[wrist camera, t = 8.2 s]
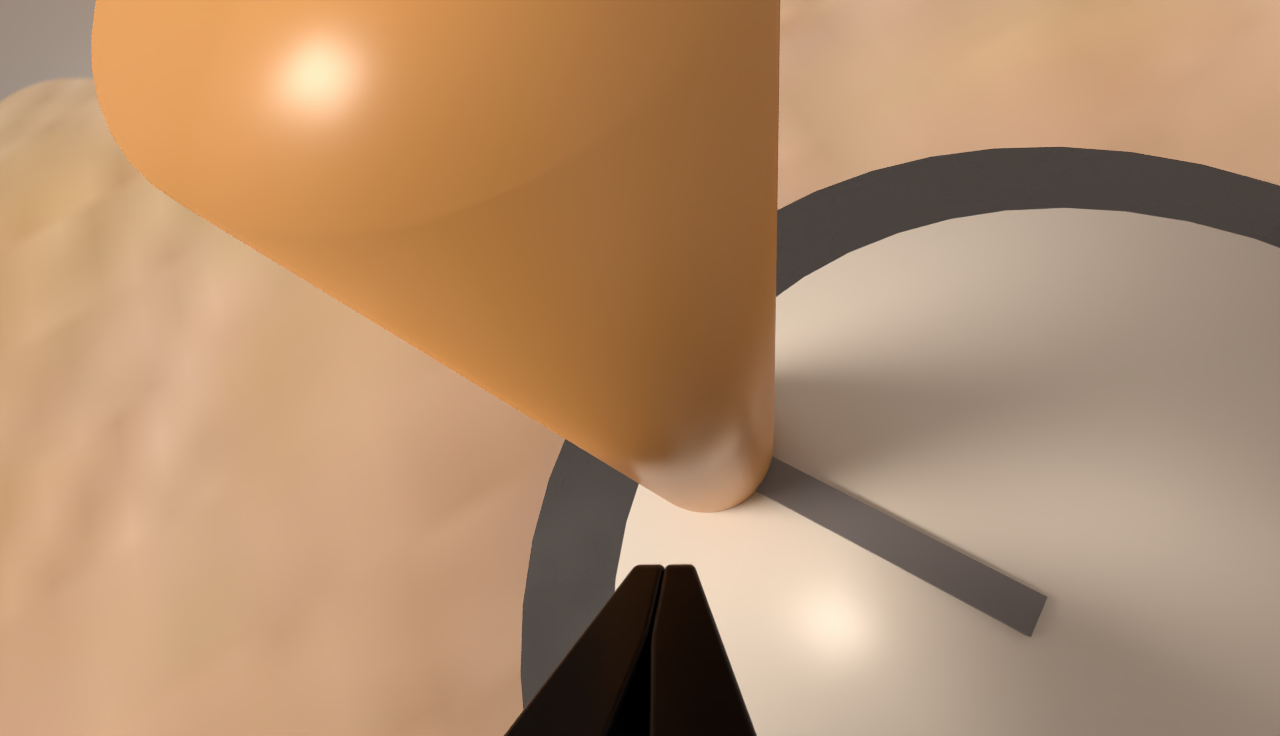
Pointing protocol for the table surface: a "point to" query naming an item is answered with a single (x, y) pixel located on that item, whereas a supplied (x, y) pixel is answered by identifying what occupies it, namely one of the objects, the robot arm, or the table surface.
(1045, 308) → the dial
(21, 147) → the table surface
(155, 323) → the table surface
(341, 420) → the table surface
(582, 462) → the dial plate
